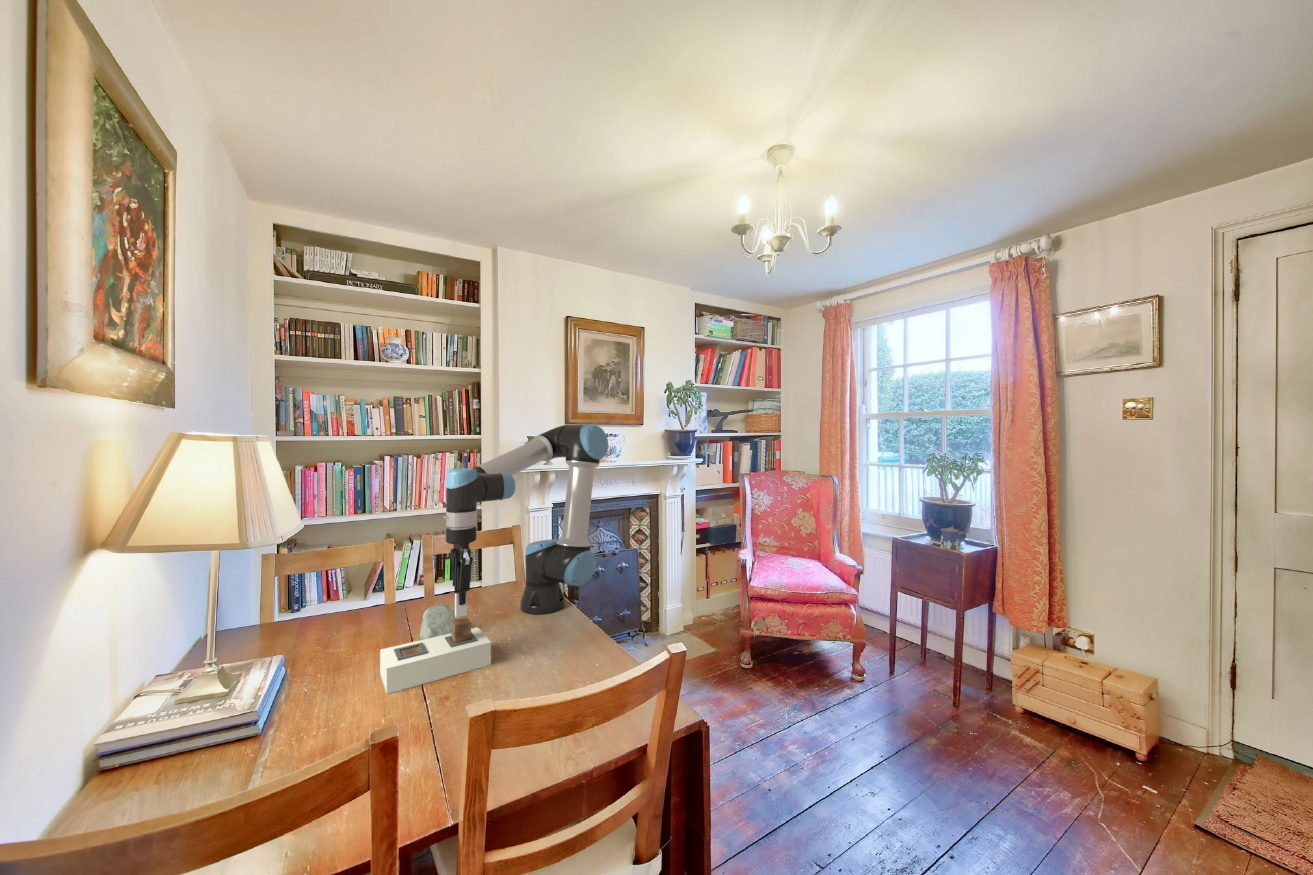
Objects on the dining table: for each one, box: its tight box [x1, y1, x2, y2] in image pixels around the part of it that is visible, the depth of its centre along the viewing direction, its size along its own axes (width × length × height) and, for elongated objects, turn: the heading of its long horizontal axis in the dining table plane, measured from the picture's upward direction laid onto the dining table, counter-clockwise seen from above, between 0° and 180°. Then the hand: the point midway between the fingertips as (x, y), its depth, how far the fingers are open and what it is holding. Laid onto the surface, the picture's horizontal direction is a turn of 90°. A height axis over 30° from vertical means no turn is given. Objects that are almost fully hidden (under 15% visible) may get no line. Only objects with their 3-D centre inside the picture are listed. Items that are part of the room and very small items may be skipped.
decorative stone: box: [419, 603, 456, 640], centre depth 139 cm, size 13×11×10 cm
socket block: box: [379, 626, 492, 695], centre depth 122 cm, size 24×12×6 cm, turn 127°
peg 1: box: [401, 647, 421, 656], centre depth 118 cm, size 4×4×6 cm
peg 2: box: [451, 616, 472, 644], centre depth 125 cm, size 4×4×6 cm
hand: (460, 615), depth 125 cm, fingers closed
